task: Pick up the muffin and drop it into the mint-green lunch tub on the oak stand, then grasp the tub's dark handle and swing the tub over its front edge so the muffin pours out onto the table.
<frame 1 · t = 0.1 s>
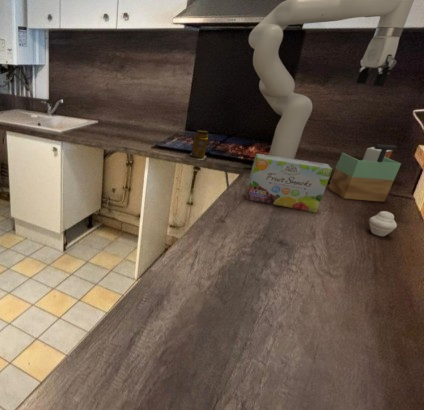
hand: (369, 84, 133), 37 cm above the table, tool pointing down, fingers open, 9 cm apart
small box: (367, 180, 148), on the table
stand: (355, 194, 130), on the table
condiment: (196, 157, 165), on the table
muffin: (377, 234, 102), on the table
lunch tub: (370, 158, 125), point 14 cm above the table, hinge at 0.0°
snack box: (279, 204, 119), on the table
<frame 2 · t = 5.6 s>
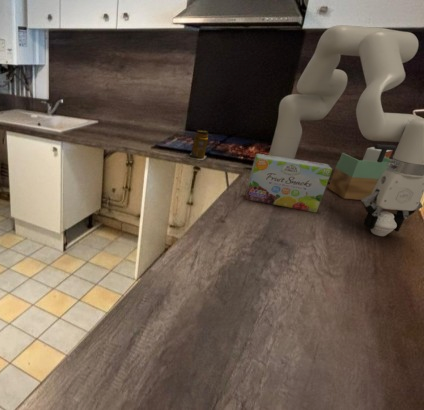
hand: (380, 227, 101), 2 cm above the table, tool pointing down, fingers closed on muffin, 6 cm apart
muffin: (377, 234, 102), on the table, touching gripper
everything else where it was.
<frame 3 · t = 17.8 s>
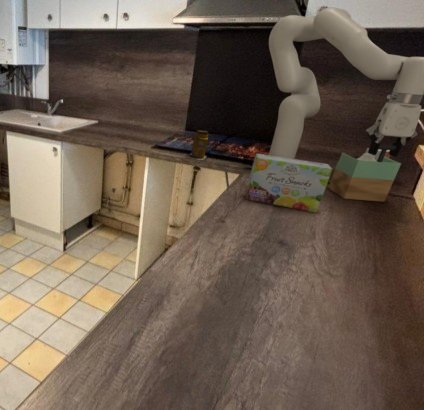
hand: (382, 154, 119), 17 cm above the table, tool pointing down, fingers closed on lunch tub, 6 cm apart
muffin: (362, 172, 128), point 8 cm above the table, touching lunch tub
lunch tub: (370, 158, 125), point 14 cm above the table, hinge at 0.0°, touching gripper, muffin, stand
everything else where it was.
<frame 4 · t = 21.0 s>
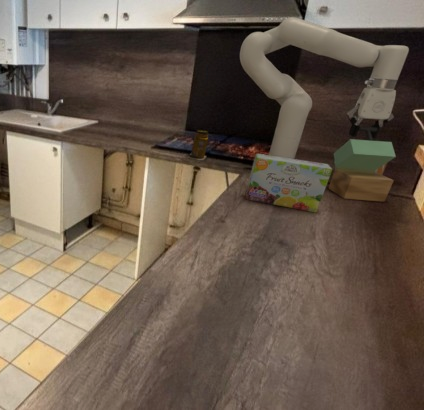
hand: (362, 136, 130), 20 cm above the table, tool pointing down, fingers closed on lunch tub, 6 cm apart
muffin: (362, 161, 129), point 12 cm above the table, touching lunch tub
lunch tub: (361, 148, 129), point 16 cm above the table, hinge at 48.0°, touching gripper, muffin
everything else where it was.
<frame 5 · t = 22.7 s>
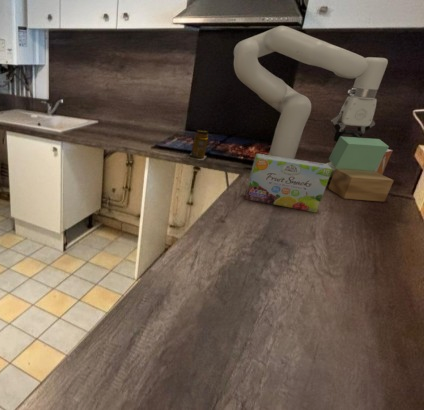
hand: (345, 141, 138), 16 cm above the table, tool pointing down, fingers closed on lunch tub, 6 cm apart
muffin: (326, 175, 149), on the table
lunch tub: (353, 149, 133), point 14 cm above the table, hinge at 77.9°, touching gripper, stand
everything else where it was.
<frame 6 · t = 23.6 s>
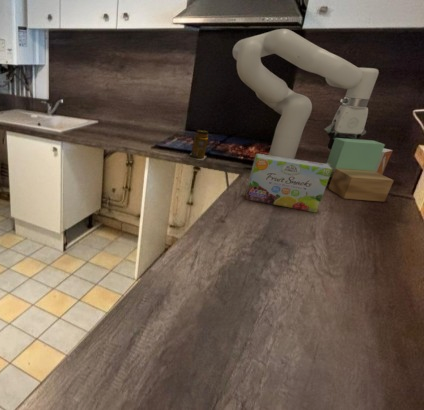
hand: (338, 149, 142), 12 cm above the table, tool pointing down, fingers open, 5 cm apart
lunch tub: (350, 151, 135), point 13 cm above the table, hinge at 90.8°
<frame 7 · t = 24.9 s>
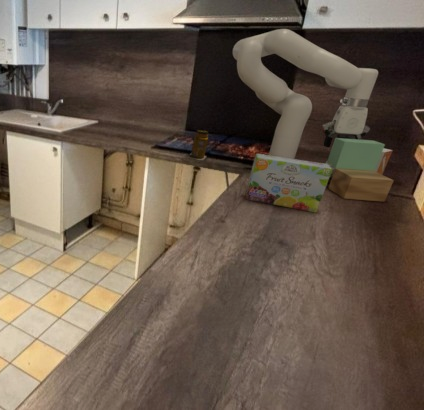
hand: (338, 147, 142), 13 cm above the table, tool pointing down, fingers open, 9 cm apart
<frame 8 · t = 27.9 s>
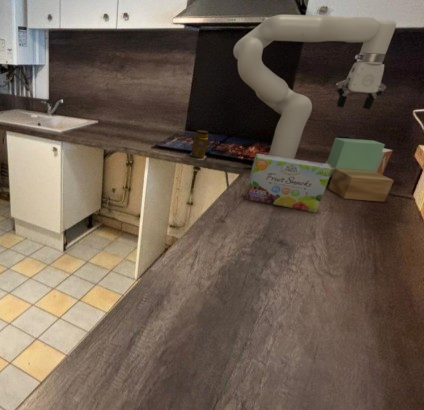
hand: (353, 107, 135), 28 cm above the table, tool pointing down, fingers open, 9 cm apart
at the end: lunch tub at +91° (first picture: +0°); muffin inside the target area (4.8 cm from its centre), on the table; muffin touching table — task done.
